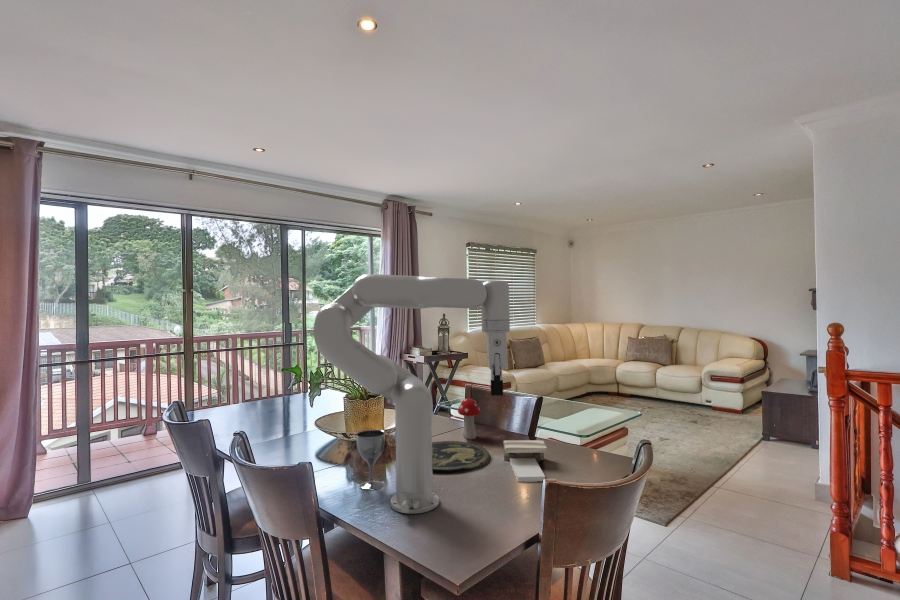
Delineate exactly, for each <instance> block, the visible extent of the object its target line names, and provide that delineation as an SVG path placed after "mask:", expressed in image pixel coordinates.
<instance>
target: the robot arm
mask: <svg viewBox="0 0 900 600" xmlns="http://www.w3.org/2000/svg"><path fill="white" fill-rule="evenodd" d="M480 307H481V333H485V334H486V355H487V364H488V369H489V370H490V372H491V373H490V375H491V379H490V395H491V396H495V397H496V396H504V380H503V369H504V370H505V371H507V370H508V368H509V365H508V362H509V361H508V341H507V339H508V338H507V333H510V332H511V324H510V323H511V321H510V320H511V319H510V317H511V316H510V314H511V313H510V285H509V283H508V282H507V281H505V280H487V281H483V282H481V281H480V280H477V279H474V278H459V277H431V276H423V275H398V274H397V275H396V274H377V273H376V274H374V273H371V274H370V273H366V274H362V275H360V276H358V277H357V278H356V279H355V281H354V283H353V284H352V285H351V286H350V287H349V288H348V289H346V291H344V292H343V293H342V294H340V295H339V296H338V297H337V298H336V299H334V300H333V301H332V302H331V303H327V304H325V305H324V306H322V307H321V308H320V309H319V311H318V312H317V314H316V316H315V318H314V323H313V339H314V343H315V346H316V348H317V350H318V351H319V353H320V354H321V356H322V357H323V358H324V359H325V360H326V361H327V362H329V364H331V365H332V366H333V367H335V368H337V369H338V370H339V371H341V372H343V374H344V375H346V376H347V377H348V378H350V379H352V380H353V381H354V382H356V383H357V384H358V385H360V386H362V387H363V388H364V389H365V390H366V391H368V392H369V393H371V394H374V395H380V396H382V397H384V398H386V399H387V400H389V401H390V402H392V403H393V404H394V412H395V413H394V414H395V415H394V419H395V420H394V421H395V422H394V425H395V426H394V431H395V433H394V437H395V438H394V441H395V442H394V443H395V444H394V445H395V482H396V483H395V484H396V485H395V489H396V490H395V491H396V492H395V493H396V494H394V495H392V497H391V498H390V501H389V502H390V503H389V504H390V507H391V509H393V510H394V511H396V512H398V513H402V514H407V515H408V514H410V515H411V514H413V515H416V514H423V513H427V512H430V511H432V510H434V509H436V508H437V507H438V506H439V504H440V497H439V496H438V495H437V493H435V492H434V480H433V479H434V477H433V476H434V474H433V466H432V442H433V410H434V405H433V396H432V393H431V390H430V389H429V388H428V387H427V385H426V384H425V383H424V381H422V380H421V379H420V378H418V377H417V376H416V375H414V374H413V373H411V372H410V371H409V370H407V369H406V368H404V367H403V366H401V365H400V364H398V363H397V362H396V361H394V360H393V359H391V358H389V357H388V356H386V355H383V354H377V353H375V352H374V351H372V350H370V349H369V348H368V347H367V346H365V345H364V344H363V343H361V342H360V341H358V340H357V339H355V338H354V337H353V336H352V335H351V333H350V330H349V329H351V328H352V327H353V326H354V325H355V324H356V323H357V322H358V321H360V320H361V319H362V318H364V317H365V316H366V315H367V314H369V312H371V310H373V309H374V308H389V309H390V308H393V309H394V308H395V309H396V308H397V309H417V310H418V309H419V310H420V309H422V310H423V309H427V308H429V309H431V308H443V309H444V308H445V309H446V308H448V309H450V308H453V309H472V310H473V309H476V308H480Z"/></svg>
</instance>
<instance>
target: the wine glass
mask: <svg viewBox="0 0 900 600" xmlns="http://www.w3.org/2000/svg"><path fill="white" fill-rule="evenodd" d="M385 438H386V437H385V430H382V429H364V430H361V431H358V432H356V447H357V452H358V454H359V456H360V457H361V458H362V459H363V460H364V461H365V463H366V464H367V466H368V470H369V471H368V472H369V481H364V483H363V482H362V483H361V482H360V483H359V485H360V487H361V488H362V489H377V490H379V488H380V489H382V488H384V486H385V484H384V482H382V481H380V480H374V479H373V474H374V473H373V472H374V465H375V464H376V462H377V460H378V459H379V458H380V456H381V455H382V453H383V451H384V448H385V447H384V446H385ZM383 485H384V486H383ZM381 487H382V488H381Z"/></svg>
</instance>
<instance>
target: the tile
mask: <svg viewBox="0 0 900 600" xmlns="http://www.w3.org/2000/svg"><path fill="white" fill-rule="evenodd" d="M509 464H510V467H511V466H512V467H511V469H512V471H514V472H513V475H514V476H516V477H515V478H516V482H517V481H518V482H517V483H528V482H529V483H536V482H537V481H541V482H542V480H543V479H545V480H546V475H545V473H544V472H543V470H542V469H541V467H540V464H539V462H537V461H536V460H535V458H510V462H509ZM521 481H522V482H521ZM523 481H524V482H523ZM541 482H540V483H541ZM537 483H538V482H537Z"/></svg>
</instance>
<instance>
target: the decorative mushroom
mask: <svg viewBox="0 0 900 600" xmlns="http://www.w3.org/2000/svg"><path fill="white" fill-rule="evenodd" d="M457 413H458V414H459V415H460V416H463V417H464V423H463V424H464V425H463V430H462V437H463V439H464V440H465V439H466V440H475V439H477V434H478V433H477V431H476V427H475V417H476V416H479V415H480V414H481V408H480V407H479V405H478V403H477V401H476V400H474V399H473V398H469V397H468V398H465V399H463V400H462V401H461V403H460V405H459V407H458V409H457Z"/></svg>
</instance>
